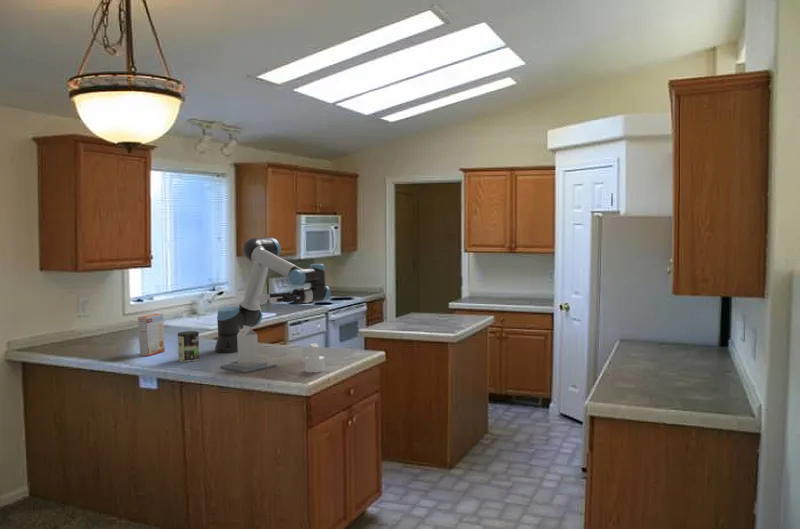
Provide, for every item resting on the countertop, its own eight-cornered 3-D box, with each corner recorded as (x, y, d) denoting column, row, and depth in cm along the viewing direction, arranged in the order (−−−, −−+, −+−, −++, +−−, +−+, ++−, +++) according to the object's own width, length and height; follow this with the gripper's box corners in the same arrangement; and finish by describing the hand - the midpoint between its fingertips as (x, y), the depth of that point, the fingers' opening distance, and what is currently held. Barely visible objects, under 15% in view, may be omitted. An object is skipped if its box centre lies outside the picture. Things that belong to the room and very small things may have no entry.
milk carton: (251, 362, 326) (249, 324, 325) (258, 365, 321) (257, 326, 319) (237, 365, 321) (236, 326, 320) (245, 367, 316) (244, 327, 315)
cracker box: (155, 351, 365) (154, 313, 364) (165, 351, 364) (163, 313, 362) (138, 356, 352) (137, 316, 351) (148, 356, 350) (147, 317, 349)
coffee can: (203, 358, 344) (202, 331, 343) (193, 362, 334) (192, 334, 333) (185, 357, 346) (184, 330, 345) (174, 361, 336) (173, 334, 335)
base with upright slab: (326, 371, 309) (325, 346, 308) (306, 373, 306) (306, 347, 306) (322, 367, 318) (322, 342, 317) (304, 369, 315) (303, 344, 314)
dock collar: (229, 365, 320) (229, 362, 320) (251, 361, 329) (250, 358, 329) (245, 369, 312) (245, 365, 312) (266, 364, 321) (266, 361, 321)
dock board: (220, 367, 320) (220, 365, 320) (250, 361, 334) (250, 359, 334) (245, 373, 307) (245, 371, 307) (276, 366, 321) (276, 364, 321)
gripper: (314, 305, 329) (276, 309, 316) (290, 300, 349) (253, 304, 336) (314, 290, 328) (275, 293, 315) (290, 286, 348) (252, 289, 335)
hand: (263, 299), depth 326 cm, fingers open, 13 cm apart
